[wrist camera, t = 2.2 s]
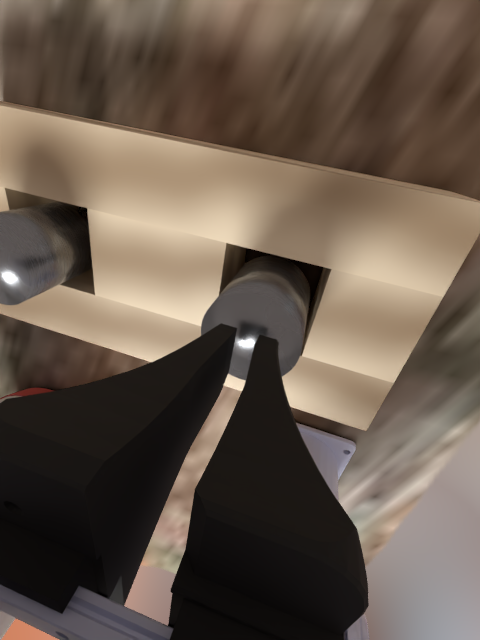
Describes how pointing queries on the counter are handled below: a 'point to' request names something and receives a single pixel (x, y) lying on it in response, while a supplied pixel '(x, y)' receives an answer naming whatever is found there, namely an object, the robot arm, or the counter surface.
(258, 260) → the steel peg
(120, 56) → the counter surface
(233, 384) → the maple peg block
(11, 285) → the steel peg
